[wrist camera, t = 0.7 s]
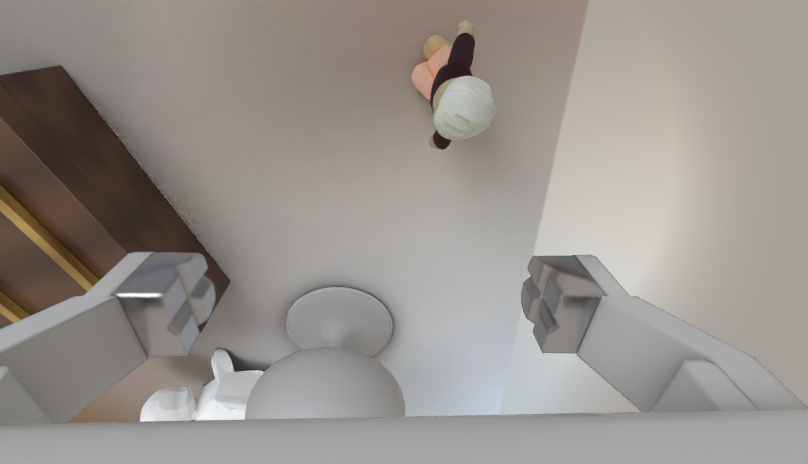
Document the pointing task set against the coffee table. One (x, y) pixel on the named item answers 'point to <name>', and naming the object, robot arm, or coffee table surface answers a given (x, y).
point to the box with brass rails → (72, 198)
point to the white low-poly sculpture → (205, 396)
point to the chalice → (331, 362)
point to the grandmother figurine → (453, 88)
